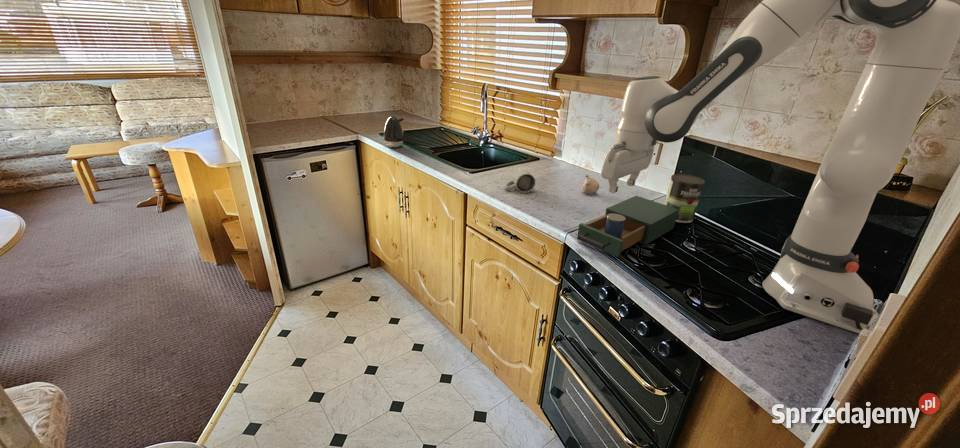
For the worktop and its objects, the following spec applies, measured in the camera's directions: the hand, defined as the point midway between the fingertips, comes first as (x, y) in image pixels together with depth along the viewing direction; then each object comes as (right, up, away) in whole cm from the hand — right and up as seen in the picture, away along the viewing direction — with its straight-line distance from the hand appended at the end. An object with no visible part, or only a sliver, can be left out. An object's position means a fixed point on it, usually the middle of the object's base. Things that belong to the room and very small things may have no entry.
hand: (621, 188), depth 113 cm
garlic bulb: (+3, +2, +45) cm, 45 cm away
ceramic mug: (-24, +3, +45) cm, 51 cm away
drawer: (-2, -15, +6) cm, 16 cm away
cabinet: (+12, -11, +18) cm, 24 cm away
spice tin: (-1, -14, +6) cm, 15 cm away
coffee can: (+29, -8, +27) cm, 41 cm away
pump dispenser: (-84, +30, +95) cm, 130 cm away
